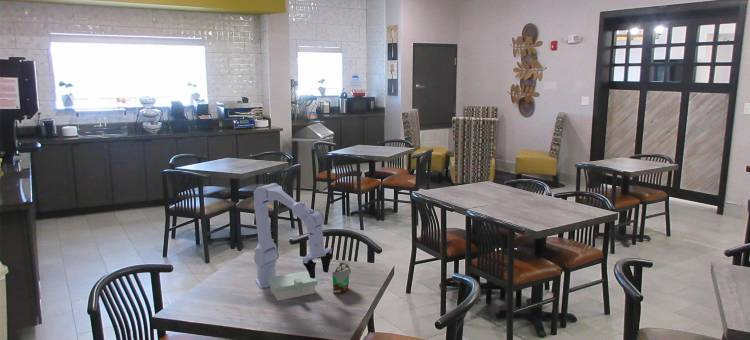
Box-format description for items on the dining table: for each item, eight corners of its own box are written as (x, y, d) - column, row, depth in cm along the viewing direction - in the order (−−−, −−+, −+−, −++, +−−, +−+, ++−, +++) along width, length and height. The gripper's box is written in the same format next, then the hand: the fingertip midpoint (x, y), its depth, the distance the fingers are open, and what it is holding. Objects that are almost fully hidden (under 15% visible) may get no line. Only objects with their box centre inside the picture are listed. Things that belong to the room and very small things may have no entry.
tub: (270, 291, 223) (270, 280, 222) (306, 284, 230) (306, 273, 229) (277, 300, 214) (277, 289, 213) (314, 293, 221) (314, 282, 220)
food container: (346, 296, 218) (346, 273, 216) (332, 295, 220) (332, 272, 218) (354, 284, 230) (354, 262, 228) (340, 283, 231) (340, 261, 229)
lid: (267, 281, 222) (267, 272, 222) (307, 274, 230) (307, 265, 229) (278, 296, 209) (278, 286, 208) (320, 288, 217) (320, 278, 216)
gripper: (310, 248, 204) (313, 282, 206) (336, 238, 215) (338, 271, 217) (297, 246, 209) (300, 279, 211) (323, 236, 220) (326, 268, 222)
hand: (319, 275), depth 214 cm, fingers open, 7 cm apart
